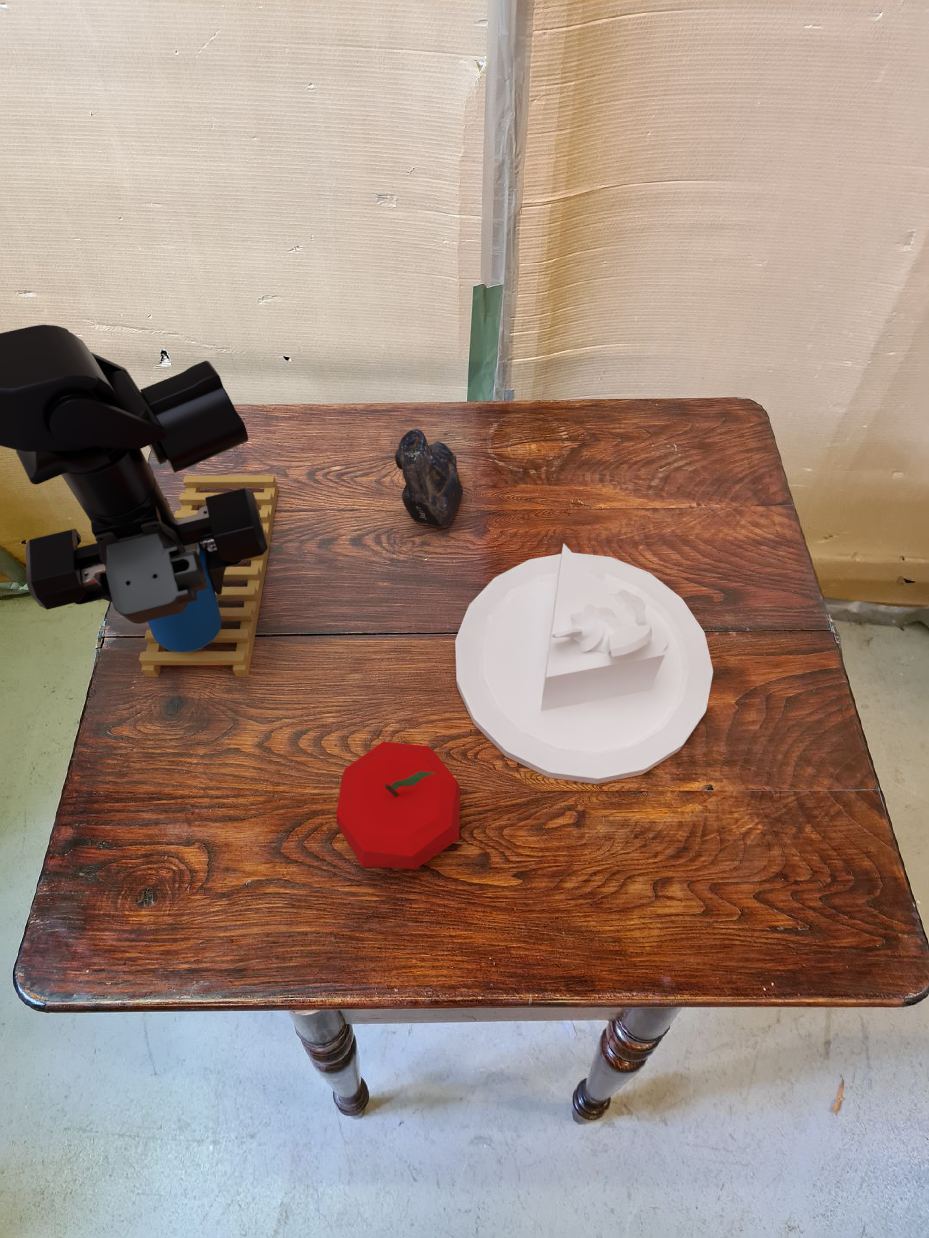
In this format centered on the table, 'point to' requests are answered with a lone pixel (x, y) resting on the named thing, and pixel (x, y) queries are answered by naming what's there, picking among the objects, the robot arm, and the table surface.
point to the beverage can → (191, 617)
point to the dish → (583, 667)
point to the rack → (253, 574)
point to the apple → (398, 806)
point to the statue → (428, 480)
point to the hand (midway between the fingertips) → (180, 601)
